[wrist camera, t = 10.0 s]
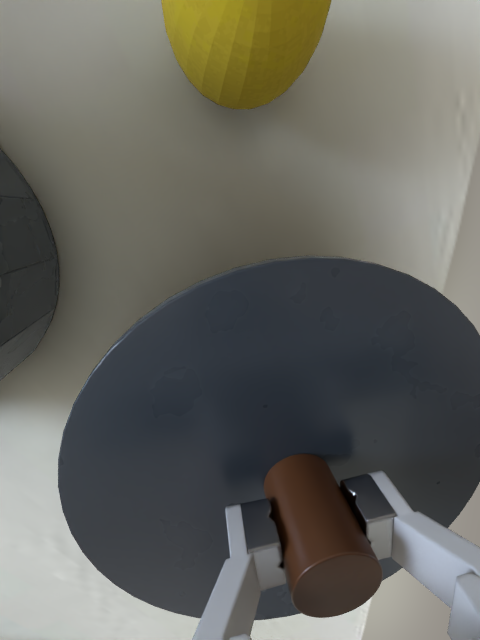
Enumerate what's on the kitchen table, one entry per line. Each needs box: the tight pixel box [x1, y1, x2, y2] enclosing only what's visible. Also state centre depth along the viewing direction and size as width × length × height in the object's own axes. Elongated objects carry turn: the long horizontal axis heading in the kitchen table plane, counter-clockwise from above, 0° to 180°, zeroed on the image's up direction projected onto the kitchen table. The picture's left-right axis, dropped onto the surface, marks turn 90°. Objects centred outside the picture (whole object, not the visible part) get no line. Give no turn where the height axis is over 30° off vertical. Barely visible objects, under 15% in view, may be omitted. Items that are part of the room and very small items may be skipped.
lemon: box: [161, 0, 331, 109], centre depth 10 cm, size 6×6×8 cm
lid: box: [58, 256, 480, 620], centre depth 10 cm, size 17×17×5 cm
